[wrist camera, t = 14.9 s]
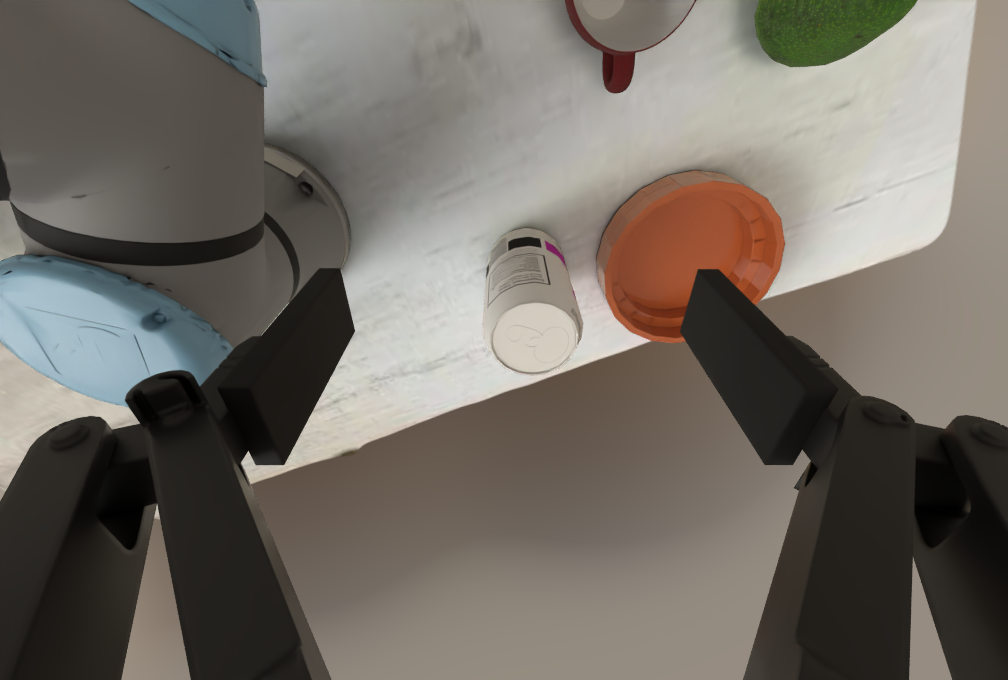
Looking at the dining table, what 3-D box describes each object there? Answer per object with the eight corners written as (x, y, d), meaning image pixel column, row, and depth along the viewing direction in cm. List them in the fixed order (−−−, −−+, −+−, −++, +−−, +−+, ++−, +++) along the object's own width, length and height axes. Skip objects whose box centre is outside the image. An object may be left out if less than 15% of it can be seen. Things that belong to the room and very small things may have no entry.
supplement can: (575, 241, 44) (604, 314, 32) (544, 305, 48) (558, 391, 36) (503, 214, 42) (504, 280, 30) (477, 283, 47) (468, 365, 34)
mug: (661, 70, 35) (709, 76, 27) (567, 99, 37) (586, 113, 28) (652, -100, 30) (711, -159, 21) (541, -60, 31) (556, -100, 23)
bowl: (580, 312, 49) (586, 333, 45) (622, 158, 39) (635, 169, 36) (718, 328, 50) (735, 349, 46) (791, 182, 41) (820, 195, 37)
